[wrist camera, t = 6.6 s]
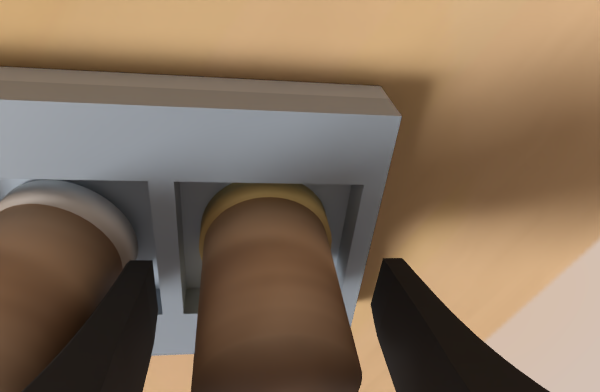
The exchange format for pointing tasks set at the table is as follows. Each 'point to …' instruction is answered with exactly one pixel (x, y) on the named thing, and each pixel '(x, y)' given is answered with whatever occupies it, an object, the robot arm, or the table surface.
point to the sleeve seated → (54, 270)
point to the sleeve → (270, 296)
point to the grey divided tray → (200, 160)
